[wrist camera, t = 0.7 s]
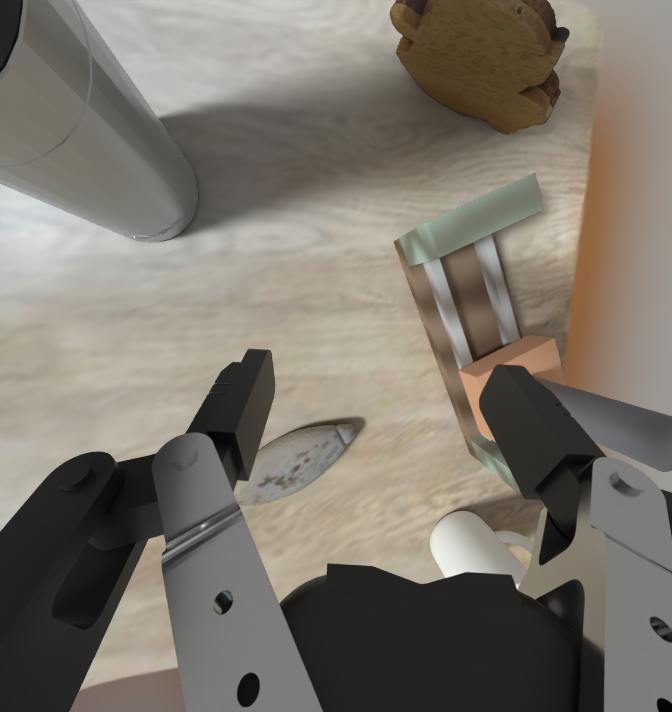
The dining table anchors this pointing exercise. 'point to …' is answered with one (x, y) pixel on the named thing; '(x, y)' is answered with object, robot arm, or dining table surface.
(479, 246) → the rail bed
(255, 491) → the decorative stone
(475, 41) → the wooden carving
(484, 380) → the carriage
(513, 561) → the mug
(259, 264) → the dining table surface
